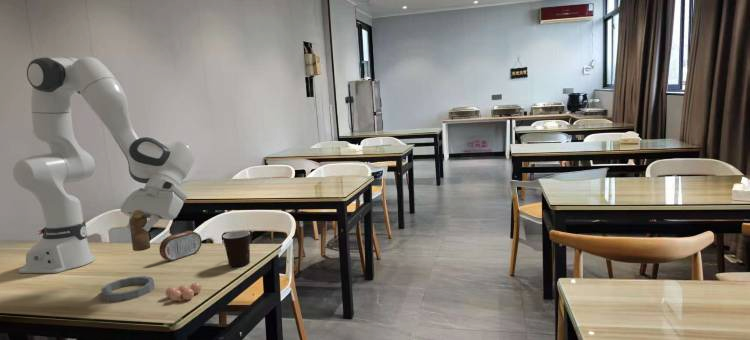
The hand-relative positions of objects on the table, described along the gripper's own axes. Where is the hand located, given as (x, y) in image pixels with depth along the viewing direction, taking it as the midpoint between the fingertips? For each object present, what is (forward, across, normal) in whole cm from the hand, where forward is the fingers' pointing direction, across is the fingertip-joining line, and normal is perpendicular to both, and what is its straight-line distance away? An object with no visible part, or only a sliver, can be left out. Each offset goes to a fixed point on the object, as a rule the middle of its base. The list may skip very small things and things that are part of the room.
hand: (137, 229), depth 141 cm
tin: (-5, -11, +30) cm, 33 cm away
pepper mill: (+4, 0, +5) cm, 6 cm away
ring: (+15, -2, +10) cm, 18 cm away
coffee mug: (-6, +14, +31) cm, 34 cm away
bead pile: (+14, +17, +11) cm, 25 cm away
